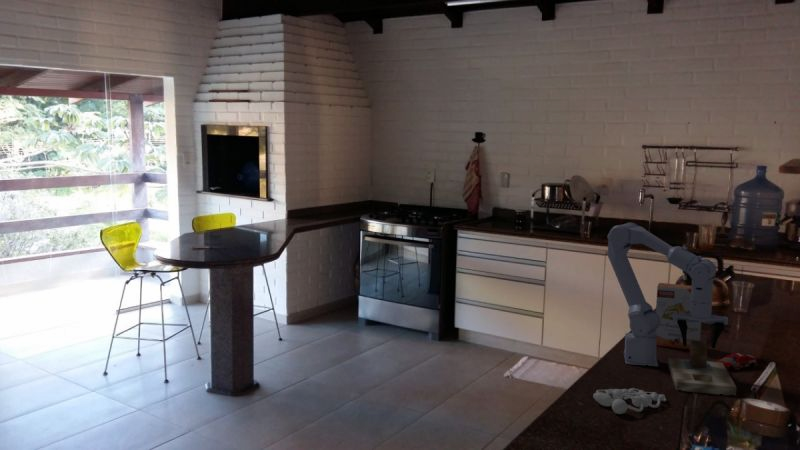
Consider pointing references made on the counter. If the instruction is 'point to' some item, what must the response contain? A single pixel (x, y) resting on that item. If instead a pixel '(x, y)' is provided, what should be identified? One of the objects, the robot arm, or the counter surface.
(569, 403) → the counter surface
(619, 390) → the tangled rod sculpture
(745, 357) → the race car
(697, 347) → the walnut peg
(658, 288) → the cracker box
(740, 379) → the counter surface
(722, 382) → the birch board
